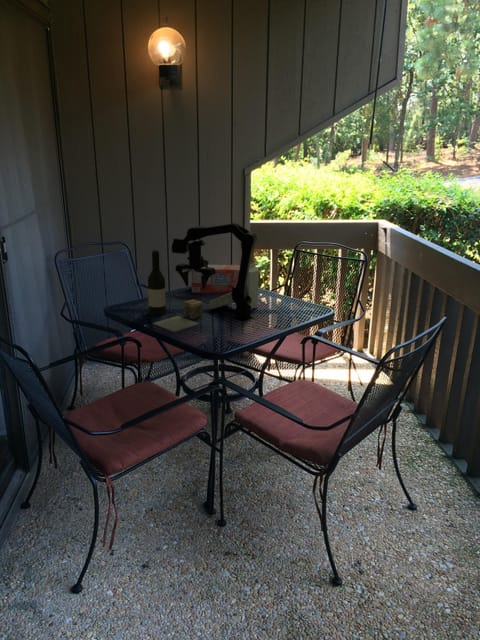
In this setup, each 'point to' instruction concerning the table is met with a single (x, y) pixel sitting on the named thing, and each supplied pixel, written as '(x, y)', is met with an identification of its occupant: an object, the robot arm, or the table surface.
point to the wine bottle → (156, 288)
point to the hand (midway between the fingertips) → (195, 287)
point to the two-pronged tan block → (193, 308)
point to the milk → (253, 285)
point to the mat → (175, 323)
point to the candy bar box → (221, 301)
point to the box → (216, 279)
